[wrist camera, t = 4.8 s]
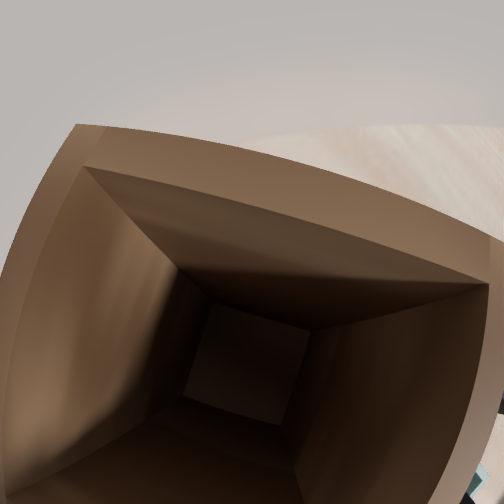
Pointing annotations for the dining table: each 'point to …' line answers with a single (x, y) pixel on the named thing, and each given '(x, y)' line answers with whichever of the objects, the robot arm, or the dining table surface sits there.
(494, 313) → the brown tall open box
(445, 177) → the dining table surface
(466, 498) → the robot arm
